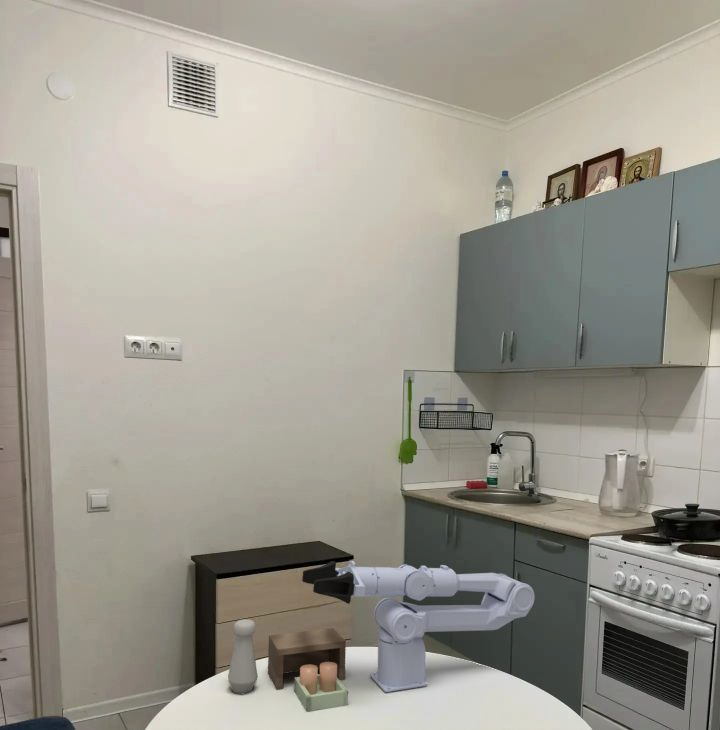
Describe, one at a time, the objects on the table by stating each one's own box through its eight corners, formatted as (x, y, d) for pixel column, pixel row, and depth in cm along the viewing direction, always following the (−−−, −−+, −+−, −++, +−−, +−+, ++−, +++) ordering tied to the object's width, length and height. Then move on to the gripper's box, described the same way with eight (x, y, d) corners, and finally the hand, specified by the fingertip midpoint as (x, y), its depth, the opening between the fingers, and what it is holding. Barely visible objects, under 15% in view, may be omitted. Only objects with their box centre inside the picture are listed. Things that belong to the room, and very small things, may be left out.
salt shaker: (250, 697, 116) (252, 627, 117) (222, 694, 117) (225, 625, 118) (261, 684, 121) (263, 617, 123) (234, 681, 123) (237, 615, 124)
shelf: (332, 664, 132) (333, 628, 132) (345, 679, 124) (345, 641, 125) (267, 673, 127) (268, 635, 127) (276, 689, 119) (277, 649, 120)
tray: (332, 684, 122) (333, 658, 122) (347, 704, 113) (348, 676, 114) (294, 690, 119) (294, 663, 119) (307, 711, 111) (307, 682, 111)
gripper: (360, 554, 130) (300, 552, 126) (388, 570, 117) (321, 569, 112) (357, 587, 130) (296, 587, 125) (384, 607, 116) (317, 608, 111)
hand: (308, 581), depth 118 cm, fingers open, 7 cm apart
